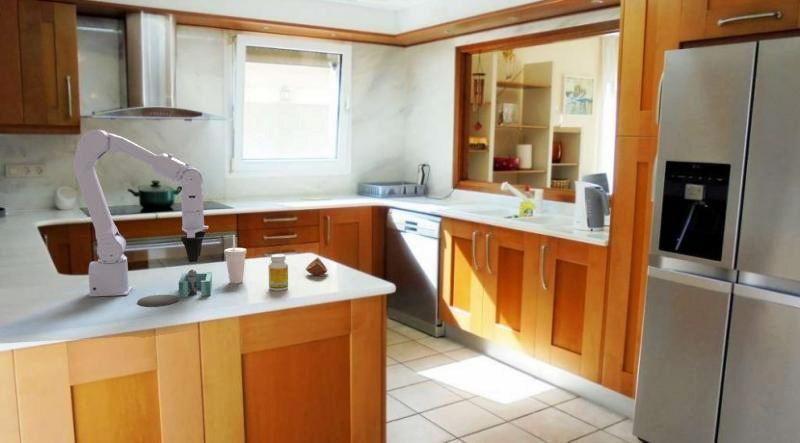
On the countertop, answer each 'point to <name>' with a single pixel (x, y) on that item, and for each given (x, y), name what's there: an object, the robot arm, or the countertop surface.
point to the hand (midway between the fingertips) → (194, 258)
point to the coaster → (158, 300)
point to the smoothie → (235, 263)
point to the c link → (201, 281)
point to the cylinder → (192, 282)
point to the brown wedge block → (316, 267)
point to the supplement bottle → (278, 273)
